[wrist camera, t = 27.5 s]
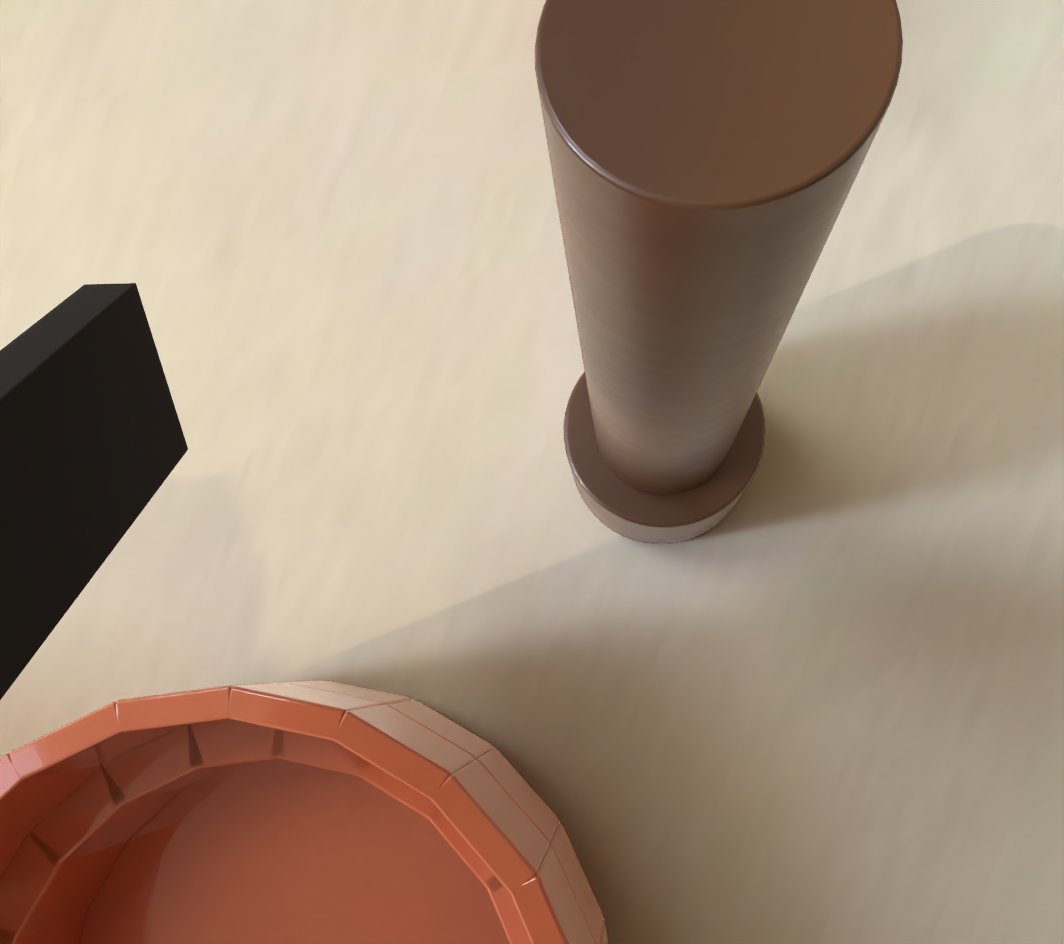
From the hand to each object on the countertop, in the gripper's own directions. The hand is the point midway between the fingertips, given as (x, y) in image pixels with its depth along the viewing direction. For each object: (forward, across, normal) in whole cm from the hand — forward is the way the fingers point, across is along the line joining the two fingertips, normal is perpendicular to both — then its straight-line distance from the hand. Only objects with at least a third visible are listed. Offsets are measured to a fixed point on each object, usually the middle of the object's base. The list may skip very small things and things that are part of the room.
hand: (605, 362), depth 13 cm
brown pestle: (+8, -1, +7) cm, 11 cm away
